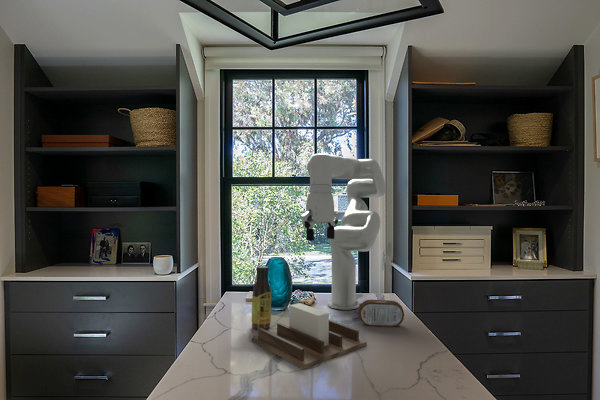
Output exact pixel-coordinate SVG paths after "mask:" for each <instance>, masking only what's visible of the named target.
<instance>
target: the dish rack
mask: <svg viewBox="0 0 600 400" xmlns="http://www.w3.org/2000/svg"><path fill="white" fill-rule="evenodd" d="M250 340H251V342H253V343H255V344H256V345H259V346H260V347H262V348H264V349H266V350H267V351H270V352H271V353H273V354H275V355H276V356H278V357H281V358H282V359H284V360H286V361H288V362H289V363H291V364H293V365H295V366H297V367H299V368H301V369H303V370H305V369H308V368H310V367H313V366H315V365H318V364H320V363H323V362H326V361H329V360H332V359H334V358H336V357H339V356H343V355H345V354H347V353H350V352H353V351H355V350H357V349H361V348H363V347H366V346H367V342H368V341H365V340H362V339H360V330H359V329H357V328H353V327H351V326H348V325H346V324H343V323H339V322H337V321H334V320H331V319H329V345H326V346H324V342H323V341H321V340H319V339H316V338H314V337H312V336H309V335H307V334H305V333H302V332H300V331H298V330H295V329H293V328H291V327H289V325H286V324H283V323H282V322H277V323H276V330H273V331H268V330H267V329H263V328H258V329H257V335H256V336H255V335H254V336H252V337H251V338H250Z"/></svg>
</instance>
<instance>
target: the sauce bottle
mask: <svg viewBox="0 0 600 400" xmlns="http://www.w3.org/2000/svg"><path fill="white" fill-rule="evenodd" d="M269 269H270V268H269V266H266V265H258V266H256V281H255V283H254V285H253V288H252V296H251V297H252V299H251V300H252V301H251V302H252V304H251V326H252V328H253V329H255V330H258V328H263V329H265V330H267V329H268V328H269V327H270V326H271V322H272V321H271V320H272V319H271V318H272V289H271V286H270V283H269V282H270V281H269V272H270V271H269Z"/></svg>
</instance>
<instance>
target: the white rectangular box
mask: <svg viewBox="0 0 600 400" xmlns="http://www.w3.org/2000/svg"><path fill="white" fill-rule="evenodd" d="M288 307H289V309H288V310H289V311H288V312H289V317H288V318H289V319H288V321H289V322H288V327H291V328H293V329H295V330H298V331H300V332H302V333H305V334H307V335H309V336H312V337H314V338H316V339H319V340H321V341H323V342H324V346H326V345H329V320H330V318H329V317H330V314H329V312H327V311H324V310H321V309H318V308H315V307H313V306H309V305H307V304H304V303H300V302H299V303H293V304H290V305H289V306H288Z"/></svg>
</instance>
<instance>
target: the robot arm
mask: <svg viewBox="0 0 600 400" xmlns="http://www.w3.org/2000/svg"><path fill="white" fill-rule="evenodd" d="M306 169H307V172H308V174H309V193H308V194H307V198H306V204H305V212H304V213H303V214H301V215H300V220H301V222H302V225H303V226H304V229H306V231H305V232H306V233H305V234H306V235H305V238H306V239H305V240H306V241H310V242H313V241H314V240H315V229H314V227H315V225H316V224H325V223H326V225H327V226H328V227H326V239H329V245H330V252H331V299H329V300H328V301H327V306H328V307H329V308H332V309H335V310H341V311H349V310H355V309H359V306H360V305H361V304H360V302H359V299H361V298H363V297H364V294H363V293H362V292H359V293H357V292H356V289H357V288H356V287H357V286H356V284H357V283H356V282H357V281H356V280H357V278H356V277H357V275H356V274H357V273H356V272H357V265H356V264H357V262H356V258H355V256H354V255H353V253H352V251H353V252H369V251H371V250H372V248H373V247H374V244H375V241H376V239H377V237H378V234H379V231H380V229H381V217H380V214H379V213H378V212H377V211H376V210H369V208H368V206H367V204H366V203H365V201H364V200H363V199H362V198H381V197H384V196H385V194H386V190H387V189H386V188H387V186H386V181H385V177H384V175H383V172H382V169H381V167H380V164H379V163H378V162H377V160H375V159H374V158H362V159H361V158H359V159H358V158H357V159H354V158H350V157H342V156H340V155H330V154H327V153H315V154H312V155H311V156H310V159H308V161H307V165H306ZM333 179H336V180H337V179H338V180H349V181H348V182H347V185H346V194H347V195H346V196H347V202H348V206H347V208H346V210H345V212H344V214H343V215H342V218H341V221H340V225H337V224H338V223H339V219H340V214H338V213H337V212H336V211H335V202H334V201H335V200H334V195H333V190H334V189H333V188H334V187H333V183H332V182H333Z"/></svg>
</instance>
